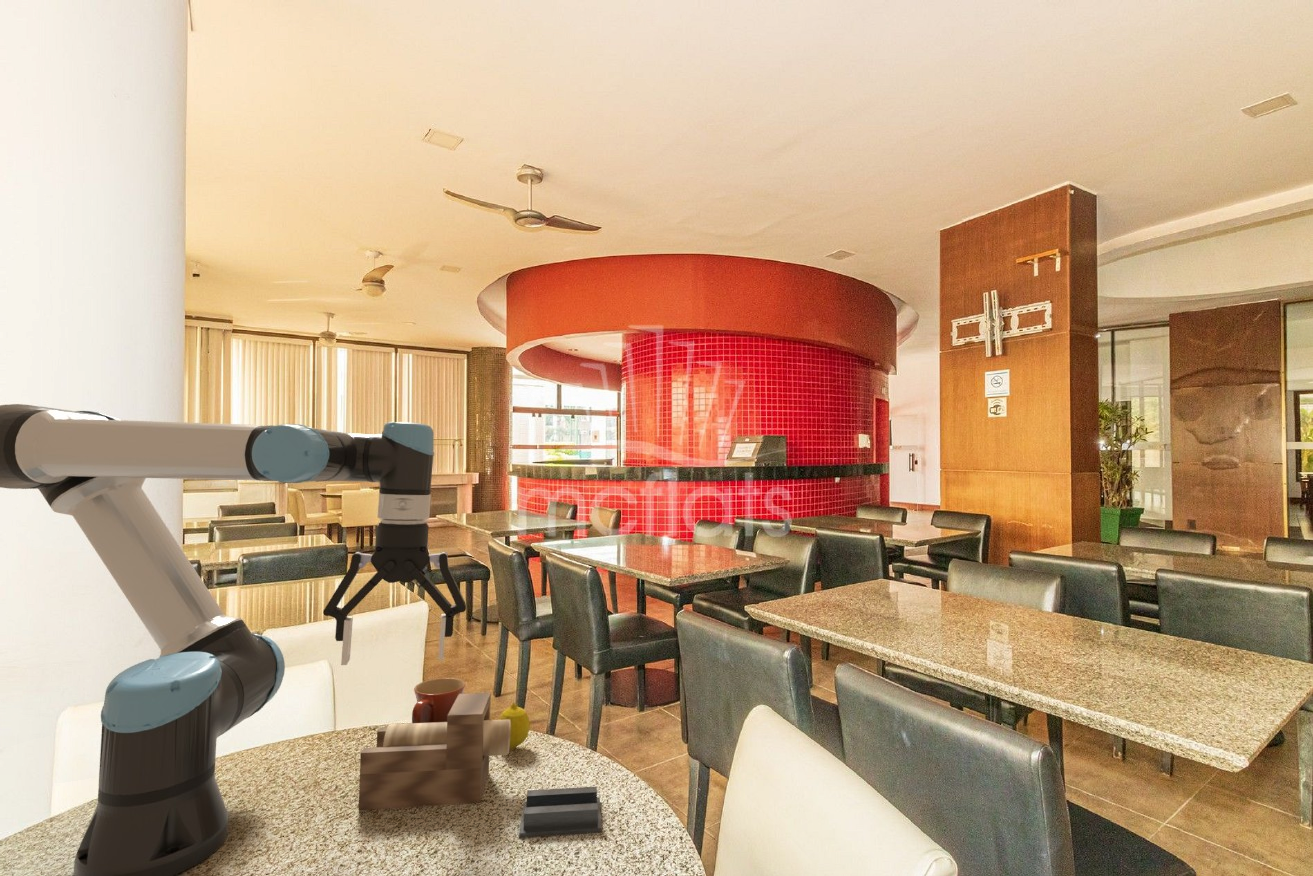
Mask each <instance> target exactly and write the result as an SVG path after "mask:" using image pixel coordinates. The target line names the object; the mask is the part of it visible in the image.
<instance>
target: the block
mask: <svg viewBox="0 0 1313 876" xmlns="http://www.w3.org/2000/svg"><path fill="white" fill-rule="evenodd" d="M491 695H492V694H491V692H471V693H469V692H467V693H463V694H459V695H458V697H457V699H456V700H455V702H454V704H453V706H452V708H451V710H450V712H449V713H448V715H447V744H441V745H420V746H398V747H383V742H384V737H385V733H386V730H387V727H388V726H385V727H384V726H382V727H379V729H378V730H377V732H376V747H364V748H363V749H362V751H360V757H359V760H360V761H359V762H360V763H359V764H360V765H359V785H358V786H359V787H358V791H359V792H358V811H364V810H365V811H366V810H385V809H388V810H389V809H398V808H399V809H402V808H419V807H436V806H438V807H439V806H452V805H453V806H454V805H455V806H456V805H468V804H469V805H470V804H471V805H472V804H480V803H481V802H482V797H483V794H484V792H485V791H484V790H485V787H486V784H487V781H488V778H489V774H490V756H483V725H484V720H491V697H492V696H491Z"/></svg>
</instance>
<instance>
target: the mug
mask: <svg viewBox="0 0 1313 876" xmlns="http://www.w3.org/2000/svg"><path fill="white" fill-rule="evenodd" d="M465 688H466V682H465V681H464V680H463V679H460V678H454V677H440V678H439V677H438V678H433V679H429V680H425V681H423V682H420V683H418V684H416V685H415V686H414V688H413V692H414V695H415V698H416V703H415V705H414V706H413V708H412V713H411V723H434V722H447V715H448V713H449V712H450V710H451V708H452V706H453V704H454V702H455V700H456V699H457V697H458V695H459V694H464V691H465Z"/></svg>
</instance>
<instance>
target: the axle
mask: <svg viewBox="0 0 1313 876" xmlns="http://www.w3.org/2000/svg"><path fill="white" fill-rule="evenodd" d="M386 727H387V730H386V733H385V737H384V742H383V747H398V746H420V745H441V744H447V722H434V723H412V722H411V723H391V724H388V726H386ZM510 733H511V723H510V719H506V720H499V719H490V720H484V725H483V756H489V757H493V756H508V755H509V753H510V749H509V747H510Z"/></svg>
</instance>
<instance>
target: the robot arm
mask: <svg viewBox="0 0 1313 876" xmlns="http://www.w3.org/2000/svg"><path fill="white" fill-rule="evenodd" d="M434 437H435V435H434V430H433V428H432V427H431V426H430V425H428V424H425V423H417V422H404V421H398V422H397V421H396V422H395V421H388V422H386V423H385V424H384V425H383V429H382V433H377V434H375V433H373V434H367V433H366V434H365V433H353V432H341V431H335V430H327V429H322V428H314V427H310V426H306V425H304V424H295V423H283V424H277V425H263V424H243V423H241V424H240V423H239V424H238V423H215V422H214V423H211V422H210V423H209V422H186V421H185V422H184V421H183V422H182V421H181V422H180V421H154V420H153V421H152V420H150V421H149V420H148V421H147V420H123V419H120V418H118V417H114V416H112V415H107V414H105V413H101V412H96V411H90V410H76V411H75V410H74V411H73V410H68V409H60V408H54V407H46V406H38V405H33V404H31V405H30V404H23V403H22V404H20V403H13V404H10V403H9V404H0V488H2V489H8V490H9V489H10V490H11V489H13V490H17V489H18V490H29V489H30V490H31V489H32V490H34V489H35V490H39V492H40V494H41V495H42V497H43V498H44V500H45V501H46V503H47V504H48V506H49V507H50V508H51V510H52V511H53V512H54V513H58V514H63V515H69V516H72V517H73V519H74V520H75V521H76V523H77V524H78V526H79V528H80V530H81V531H82V532H83V533H84V535H85V537H86V539H87V540H88V542H89V543H90V544H91V546H92V548H93V549H94V551H95V552H96V553H97V555H98V557H99V558H100V559H101V562H102V563H103V565H104V566H105V567H106V569H107V570H108V572H109V574H110V575H111V576H112V578H113V579H114V581H115V582H116V584H117V586H118V587H119V589H120V590H121V591H122V593H123V595H124V596H125V598H126V599H127V601H128V603H129V604H130V606H131V607H132V608H133V610H134V611H135V613H136V614H137V616H138V617H139V620H141V622H142V624H143V625H144V627H145V628H146V629H147V631H148V633H149V634H150V635H151V637H152V638H153V640H154V642H155V643H156V645H157V647H158V648H159V649H160V655H159V657H158V658H150V659H147V660H144V661H141V662H138V663H137V664H134V665H132V666H130V667H128V668H126V669H124V670H123V671H121V672H119V673H118V674H117V675H115V677H114V678H112V680H111V681H110V682H109V683H108V686H107V687H106V688H105V689H106V690H105V694H104V700H103V705H102V708H101V711H100V722H101V735H100V736H101V738H100V753H99V755H100V756H99V773H98V774H99V775H98V793H97V804H96V808H95V810H94V811H93V815H92V817H91V819H90V821H89V824H88V826H87V828H86V831H85V833H84V835H83V838H82V840H81V842H80V844H79V847H78V849H77V851H76V854H75V858H74V862H73V863H74V864H73V875H74V876H176V875H178V874H180V873H183V872H185V871H187V870H189V869H191V868H192V867H193V868H194V866H196V865H198V864H199V863H200V864H201V862H203V861H204V860H206V859H207V858H208V857H210V856H211V855H212V854H214V853H215V852H217V851H218V849H219V848H220V847H221V846H222V845H223V844H224V842H225V841H226V839H227V837H228V832H229V831H228V830H229V814H228V813H229V812H228V811H227V808H226V804H225V802H224V799H223V797H222V794H221V793H222V792H221V791H220V788H219V785H218V782H217V780H216V773H215V772H216V757H217V739H218V738H219V737H221V736H222V735H224V734H225V733H227V732H228V731H230V730H231V729H232V728H234V727H235V726H237V725H238V724H240V723H242V721H244V720H246V719H249V718H251V717H252V716H253V715H254V714H255V713H258V712H259V711H260V710H262V709H263V708H264V707H265V705H266V704H268V702H270V700H272V699H273V698H274V697H275V696H276V694H277V693H278V691H279V690H280V688H281V685H282V683H283V678H284V676H285V669H286V668H285V667H286V666H285V665H286V664H285V663H286V662H285V658H284V654H283V652H282V649H281V648H280V647H279V645H278V644H277V643H276V642H275V641H274V640H272V638H270V637H268V636H266V635H261V634H257V633H251V631H250V629H249V627H248V626H247V624H246V623H245V622H244V620H243V619H242V617H237V616H230V615H226V614H225V613H224V612H223V610H222V608H221V607H220V605H219V604H218V603H217V601H216V600H215V598H214V597H213V595H212V593H211V592H210V591H209V588H208V587H207V586H206V584H205V583H204V581H203V580H202V578H201V577H200V575H199V574H198V572H197V571H196V569H195V568H194V566H193V564H192V563H191V562H190V561H191V560H189V558H188V557H187V555H186V554H185V552H184V551H183V549H182V548H181V546H180V544H179V542H177V540H176V538H175V537H174V535H173V534H172V533H171V531H170V529H169V527H168V526H167V525H166V523H165V522H164V520H163V518H162V517H161V515H160V514H159V513H158V511H157V509H156V508H155V507H154V505H153V504H152V502H151V501H150V499H149V497H148V495H147V494H146V493H145V491H144V489H142V487H143V485H144V482H145V480H146V479H176V480H178V479H180V480H185V479H186V480H218V481H219V480H223V481H226V480H227V481H256V482H257V481H260V482H261V481H262V482H279V483H282V484H299V483H308V482H318V483H319V482H360V483H361V482H363V483H365V482H366V483H367V482H370V483H379V490H378V491H379V492H378V494H379V495H378V506H377V507H378V508H377V519H379V520H381V521H380V522H378V524H376V535H375V545H374V549H375V550H374V551H373V553H372V554H369V553H363V552H362V551H356V552H355V553H353V554H352V555H351V558H350V564H349V569H347V571H346V573H345V575H344V577H343V578H342V580H341V581H340V583H339V585H338V586H337V588H336V589H335V591H334V593H333V594H332V596H331V598H330V599H329V601H328V602H327V604H326V605H325V608H324V609H323V611H322V612H323V613H322V614H323V615H324V616H326V617H331V618H334V619H335V621H336V624H335V637H334V638H335V641H336V642H342V650H341V660H340V661H341V663H340V665H341V666H347V665H348V664H349V662H350V660H351V651H352V650H351V647H352V636H353V634H352V633H353V619H354V617H353V616H348V615H349V614H350V613H351V612H352V611H353V610H354V609H355V608H357V606H358V605H359V603H361V601H363V600H364V599H365V598H366V596H368V595H369V594H370V592H371V591H372V590H374V588H376V586H377V585H379V583H380V582H381V581H382V580H383V581H385V582H387V583H388V584H393V583H394V584H395V583H397V582H401V583H404V584H405V583H407V584H409V583H411V582H414V581H416V582H417V583H418V584H419V585H420V586H421V587H422V588H423V589H424V590H425V592H426V593H427V594H428V596H429V597H431V599H432V600H433V601H434V602H435V604H436V605H437V606H438V607H439V608H440V610H441V611H442V612H443V613H441V616H440V624H439V625H440V627H439V641H438V643H439V644H438V655H437V656H438V657H437V660H438V661H444V656H445V640H446V639H445V638H451V637H452V636H453V632H454V618H455V616H456V615H457V614H460V613H464V612H465V611H466V610H467V604H466V601H465V598H464V597H463V595H462V592H461V591H460V588H459V586H458V584H457V582H456V580H455V578H454V577H455V576H454V575H453V573H452V571H451V569H450V567H449V561H448V559H449V557H448V553H447V552H446V551H442V552H439V553H432V554H430V553H429V550H428V546H429V544H428V542H429V529H430V528H429V527H430V525H429V524H428V523H427V522H426V521H427V520H428V519H430V513H431V512H430V511H431V502H432V501H431V498H432V495H431V492H432V490H431V489H432V477H433V466H434V465H433V464H434V456H435V452H434V442H435V441H434V439H435V438H434ZM430 562H431V563H433V564H434V567H435V568H439V570H440V573H441V576H442V578H443V580H444V582H445V585H446V587H447V589H448V590H449V594H450V595H451V597H452V599H453V602H454V604H451V602H450V601H449V600H448V599H447V598H446V596H444V594H443V593H442V592H441V590H440V589H439V588H438V587H437V585H435V583H434V582H433V581H432V579H430V577H429V576H428V574H427V573H426V571H424V570H425V569H426V567H427V566H428V564H429V563H430ZM368 563H371V565H372V566H373V568H374V569H375V570H376V573H375V574H374V575H372V577H371V578H370V579H369V580H368V581H367V582H366V583H365V584H364V585H363V586H362V588H360V589H359V590H358V591H357V592H356V593H355V595H354V596H353V597H351V599H350V600H349V601H348V602H346V603H345V605H343V607H338V605H339V604H340V602H341V601H342V600H343V597H344V596H345V594H346V593H347V590H348V589H349V588H350V585H352V582H353V581H354V579H355V578H356V576H357V574H358V573H359V571H360V569H364V568H365V567H366V565H367V564H368Z"/></svg>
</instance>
